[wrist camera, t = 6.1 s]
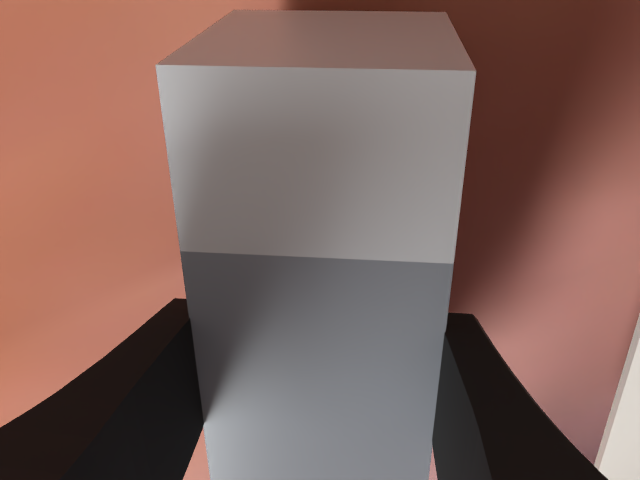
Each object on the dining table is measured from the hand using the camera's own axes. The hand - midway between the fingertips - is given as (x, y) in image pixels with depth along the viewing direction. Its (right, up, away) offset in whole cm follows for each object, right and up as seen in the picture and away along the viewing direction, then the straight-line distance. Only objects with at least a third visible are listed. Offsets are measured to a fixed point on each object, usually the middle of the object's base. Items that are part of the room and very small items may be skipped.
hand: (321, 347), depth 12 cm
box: (0, +2, +4) cm, 4 cm away
